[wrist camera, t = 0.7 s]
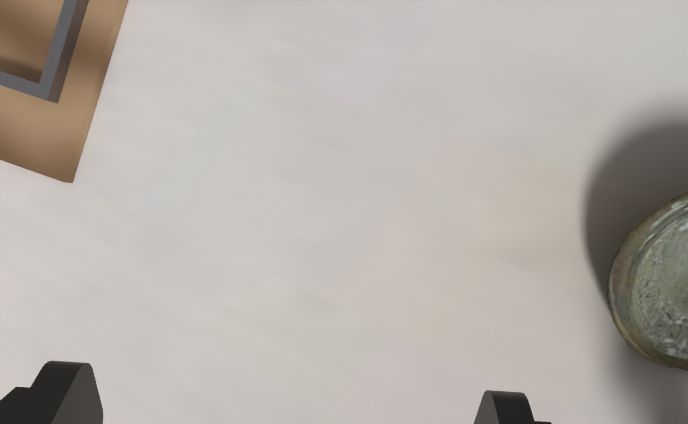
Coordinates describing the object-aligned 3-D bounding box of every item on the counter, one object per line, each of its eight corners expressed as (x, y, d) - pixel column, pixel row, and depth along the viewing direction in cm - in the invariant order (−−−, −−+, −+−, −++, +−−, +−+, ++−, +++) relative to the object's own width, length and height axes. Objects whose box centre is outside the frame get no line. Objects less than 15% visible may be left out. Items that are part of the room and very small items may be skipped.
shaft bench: (-17, -131, 36) (-27, -138, 35) (153, -83, 34) (147, -90, 33) (-91, 125, 36) (-102, 123, 35) (72, 182, 35) (64, 182, 34)
